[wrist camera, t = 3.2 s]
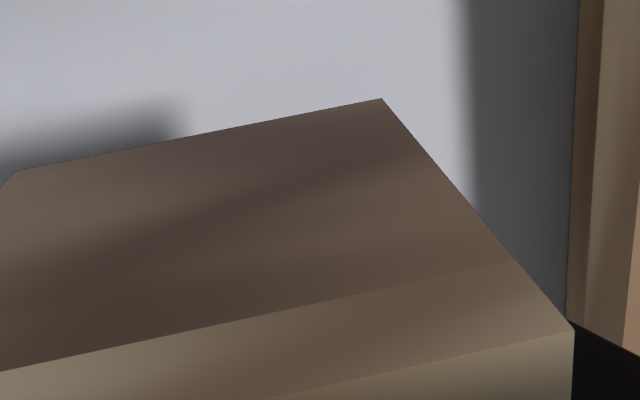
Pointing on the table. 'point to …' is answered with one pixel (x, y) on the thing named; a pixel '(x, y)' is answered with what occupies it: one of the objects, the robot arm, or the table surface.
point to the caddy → (606, 175)
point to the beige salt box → (267, 274)
